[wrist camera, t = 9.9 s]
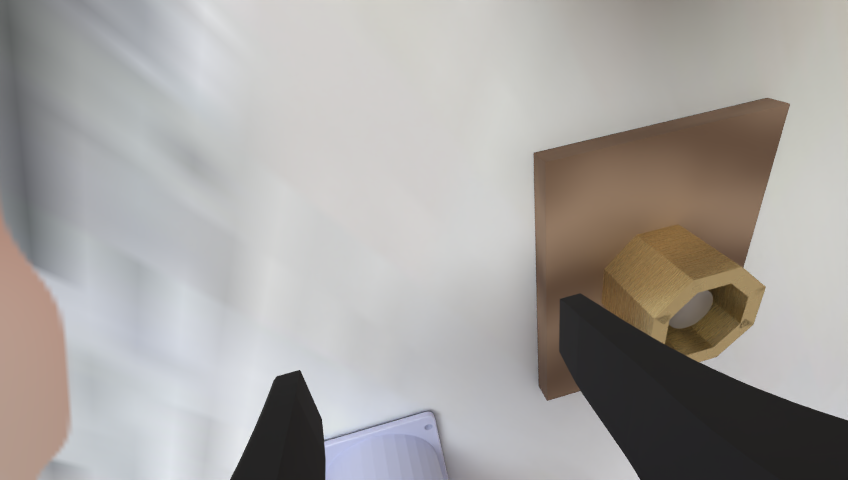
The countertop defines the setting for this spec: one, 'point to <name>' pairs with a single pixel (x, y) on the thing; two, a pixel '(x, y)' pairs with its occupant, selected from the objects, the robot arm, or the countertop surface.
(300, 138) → the countertop surface
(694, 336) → the brass collar
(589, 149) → the hub board
